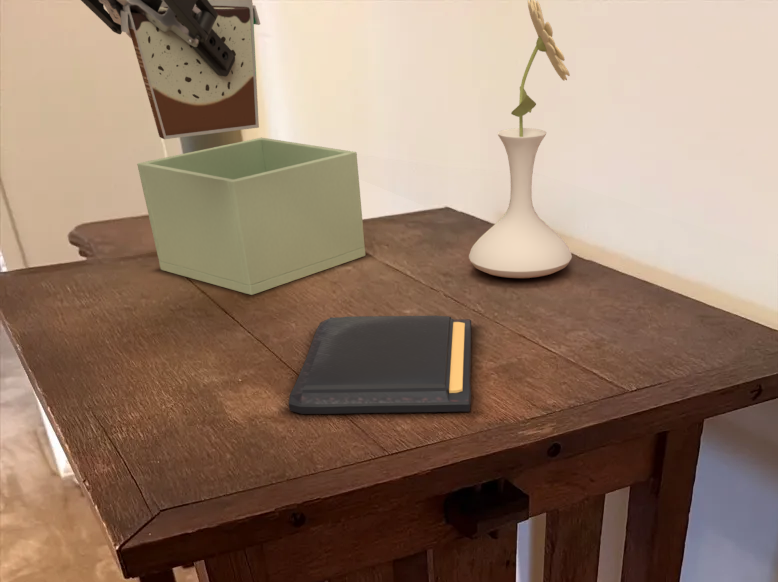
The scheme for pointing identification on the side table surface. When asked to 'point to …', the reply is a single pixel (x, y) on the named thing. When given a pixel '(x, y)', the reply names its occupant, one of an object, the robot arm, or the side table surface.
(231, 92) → the food container
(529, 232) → the flower in vase
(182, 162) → the bin
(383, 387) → the wallet
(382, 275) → the side table surface
